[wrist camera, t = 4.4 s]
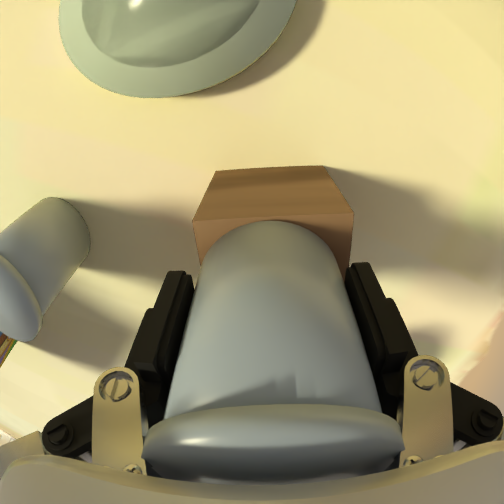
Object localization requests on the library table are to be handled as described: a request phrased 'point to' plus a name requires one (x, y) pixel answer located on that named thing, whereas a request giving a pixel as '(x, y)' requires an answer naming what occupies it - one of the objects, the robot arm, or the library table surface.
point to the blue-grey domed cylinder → (38, 263)
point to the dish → (168, 41)
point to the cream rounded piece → (5, 438)
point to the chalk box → (5, 346)
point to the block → (276, 206)
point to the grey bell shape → (271, 371)
